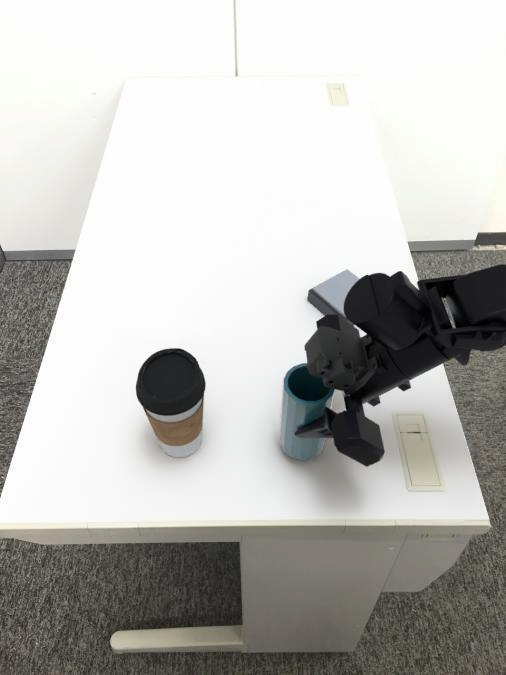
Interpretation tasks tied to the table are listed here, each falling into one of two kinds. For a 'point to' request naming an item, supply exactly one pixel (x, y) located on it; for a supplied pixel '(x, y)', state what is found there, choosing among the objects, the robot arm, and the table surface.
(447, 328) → the robot arm
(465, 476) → the table surface
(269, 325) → the table surface
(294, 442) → the tumbler
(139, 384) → the coffee cup
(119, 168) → the table surface
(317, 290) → the scale
